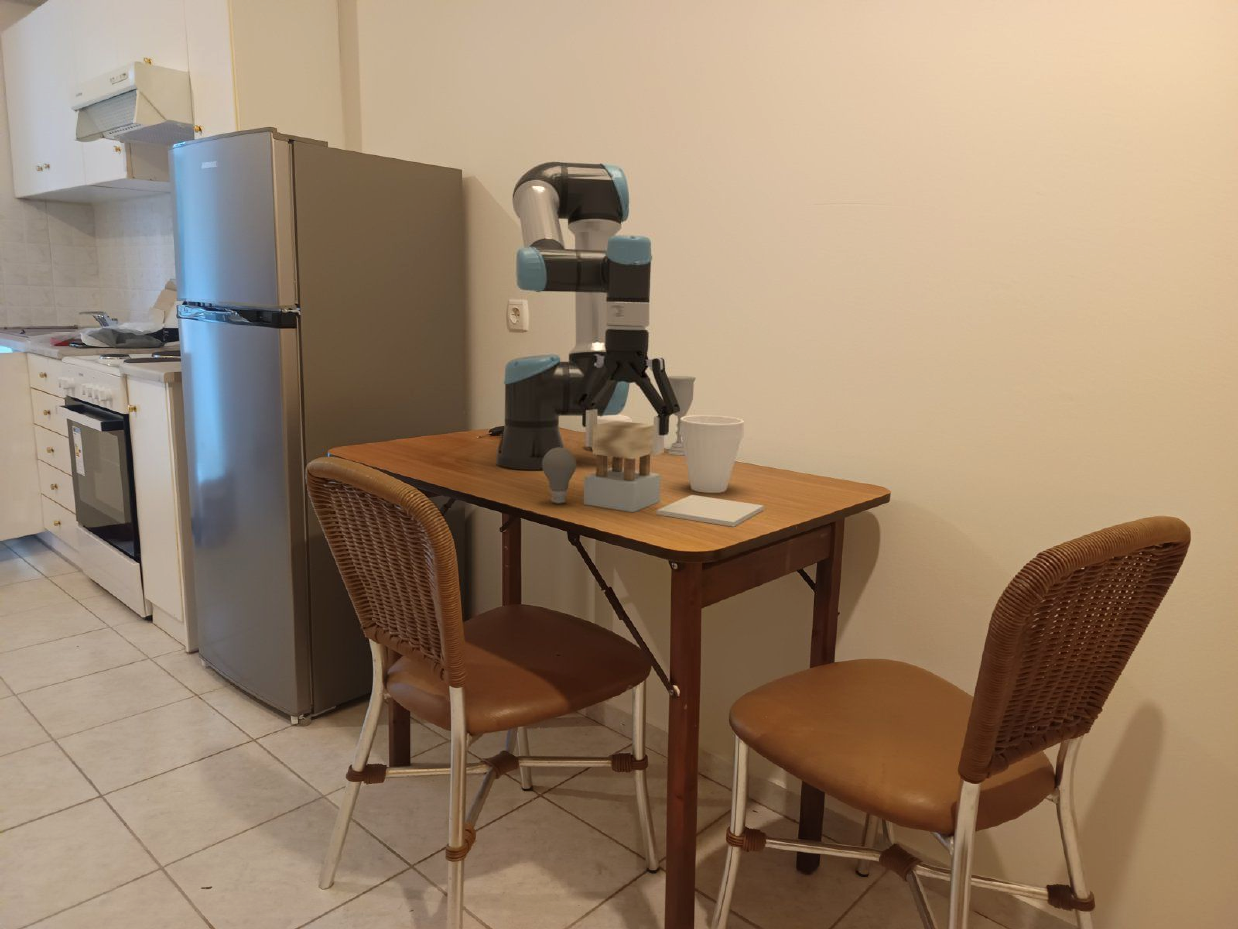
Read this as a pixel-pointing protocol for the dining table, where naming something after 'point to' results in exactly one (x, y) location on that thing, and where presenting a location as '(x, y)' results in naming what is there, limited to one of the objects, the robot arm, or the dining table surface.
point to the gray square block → (622, 491)
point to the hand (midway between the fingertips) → (623, 449)
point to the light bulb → (559, 472)
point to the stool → (623, 447)
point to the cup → (710, 450)
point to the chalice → (681, 405)
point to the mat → (711, 510)
